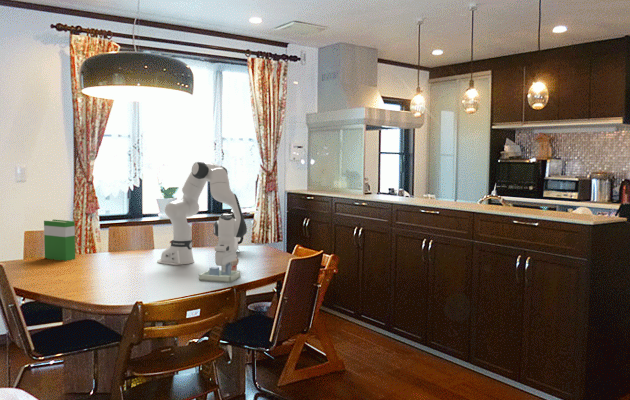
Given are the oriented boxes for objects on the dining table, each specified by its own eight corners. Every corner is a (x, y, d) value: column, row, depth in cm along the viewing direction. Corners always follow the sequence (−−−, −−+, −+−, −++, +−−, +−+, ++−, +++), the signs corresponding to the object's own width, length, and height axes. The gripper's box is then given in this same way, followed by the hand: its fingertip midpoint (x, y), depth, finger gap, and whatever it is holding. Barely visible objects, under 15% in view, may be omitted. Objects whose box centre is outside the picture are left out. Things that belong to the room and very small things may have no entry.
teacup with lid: (229, 273, 311) (229, 253, 310) (218, 271, 316) (218, 251, 315) (243, 270, 321) (244, 250, 320) (232, 268, 326) (232, 248, 325)
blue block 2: (221, 274, 296) (221, 265, 296) (224, 273, 300) (224, 264, 300) (228, 275, 295) (228, 265, 295) (231, 273, 299) (231, 264, 299)
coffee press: (239, 254, 369) (240, 210, 366) (216, 254, 369) (216, 210, 367) (243, 250, 386) (243, 208, 384) (220, 249, 386) (221, 207, 384)
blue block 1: (209, 277, 298) (209, 268, 298) (212, 275, 302) (212, 266, 302) (216, 277, 297) (216, 268, 297) (219, 276, 301) (219, 267, 301)
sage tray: (199, 280, 294) (199, 274, 294) (210, 274, 308) (210, 269, 308) (230, 282, 290) (230, 277, 290) (240, 277, 303) (240, 271, 303)
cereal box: (44, 258, 345) (43, 220, 343) (54, 256, 352) (53, 219, 349) (65, 261, 338) (65, 222, 336) (75, 259, 345) (74, 221, 343)
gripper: (228, 242, 307) (228, 266, 308) (213, 248, 288) (213, 274, 289) (239, 243, 306) (238, 267, 307) (224, 249, 286) (224, 275, 287)
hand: (226, 270), depth 298 cm, fingers closed on blue block 2, 4 cm apart
